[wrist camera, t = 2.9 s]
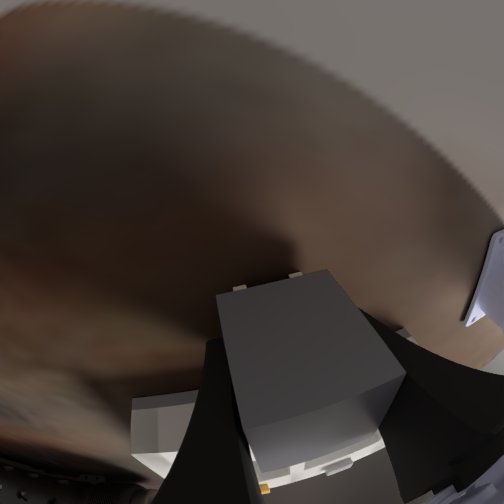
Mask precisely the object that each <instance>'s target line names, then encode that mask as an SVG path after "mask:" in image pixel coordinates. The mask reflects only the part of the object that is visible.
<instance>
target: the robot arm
mask: <svg viewBox="0 0 504 504" xmlns="http://www.w3.org/2000/svg"><path fill="white" fill-rule="evenodd" d="M358 309H359V310H360V311H361V313H362V314H363V315H364V316H365V318H366V319H367V320H368V322H369V323H370V324H371V325H372V327H373V328H374V329H375V331H376V332H377V333H378V335H379V336H380V337H381V339H382V340H383V341H384V343H385V344H386V345H387V347H388V348H389V349H390V351H391V352H392V353H393V355H394V356H395V357H396V359H397V360H398V362H399V363H400V364H401V366H402V367H403V368H404V370H405V371H406V375H405V377H404V379H403V381H402V383H401V385H400V388H399V390H398V392H397V394H396V396H395V398H394V400H393V402H392V404H391V405H390V407H389V409H388V411H387V413H386V415H385V417H384V418H383V420H382V422H381V424H380V425H379V427H378V430H379V432H380V434H381V437H382V439H383V442H384V444H385V447H386V449H387V452H388V455H389V457H390V461H391V463H392V466H393V469H394V473H395V476H396V479H397V483H398V487H399V491H400V495H401V498H402V499H403V502H404V503H407V502H410V501H412V500H414V499H416V498H418V497H420V496H422V495H424V494H426V493H427V492H429V491H430V490H432V491H433V494H434V496H433V497H431V498H430V499H428V500H427V501H425V502H423V503H422V504H504V375H497V374H493V373H489V372H484V371H480V370H477V369H473V368H470V367H467V366H464V365H461V364H458V363H455V362H453V361H450V360H448V359H445V358H443V357H441V356H439V355H437V354H434V353H432V352H430V351H428V350H426V349H424V348H422V347H420V346H419V345H417V344H415V343H413V342H411V341H409V340H408V339H406V338H404V337H403V336H401V335H399V334H398V333H396V332H395V331H393V330H391V329H390V328H388V327H387V326H385V325H384V324H382V323H381V322H379V321H378V320H376V319H375V318H373V317H372V316H370V315H369V314H367V313H366V312H364V311H363V310H361V309H360V308H358ZM484 315H487V316H488V317H489V318H490V319H491V320H492V321H494V322H495V323H496V324H497V325H498V326H499V327H500V328H501V329H502V330H503V331H504V229H503V230H501V231H498V232H496V233H494V234H493V236H492V238H491V241H490V245H489V249H488V253H487V256H486V260H485V263H484V267H483V270H482V273H481V276H480V279H479V282H478V285H477V288H476V291H475V294H474V296H473V299H472V302H471V304H470V307H469V310H468V312H467V314H466V317H465V319H464V322H463V324H464V325H465V326H466V327H467V326H469V325H471V324H472V323H474V322H475V321H477V320H478V319H480V318H481V317H483V316H484ZM465 491H466V494H465V495H463V496H461V497H459V496H460V495H461V494H463V493H464V492H465ZM457 497H459V498H457ZM456 498H457V499H456ZM455 499H456V500H455ZM150 504H265V502H264V499H263V496H262V493H261V489H260V486H259V482H258V479H257V476H256V472H255V468H254V465H253V461H252V457H251V452H250V447H249V443H248V440H247V438H246V436H245V433H244V431H243V427H242V423H241V418H240V414H239V410H238V405H237V401H236V396H235V392H234V387H233V383H232V378H231V373H230V368H229V364H228V359H227V354H226V349H225V344H224V338H223V337H222V338H217V339H212V340H208V341H207V343H206V352H205V360H204V366H203V372H202V377H201V381H200V386H199V390H198V395H197V398H196V402H195V405H194V409H193V412H192V416H191V419H190V422H189V425H188V428H187V430H186V433H185V436H184V438H183V441H182V444H181V446H180V448H179V451H178V453H177V455H176V457H175V460H174V462H173V464H172V466H171V468H170V470H169V472H168V474H167V476H166V478H165V480H164V481H163V483H162V485H161V487H160V488H159V490H158V492H157V494H156V495H155V497H154V499H153V500H152V502H151V503H150Z"/></svg>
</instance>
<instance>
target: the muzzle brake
mask: <svg viewBox="0 0 504 504" xmlns="http://www.w3.org/2000/svg"><path fill="white" fill-rule="evenodd" d="M1 484H2V489H0V504H150V503H151V502H152V500H153V499H154V497H155V495H156V494H157V492H158V490H156V489H146V488H144V487H142V486H140V485H138V484H135V483H113V482H111V481H110V479H108V478H106V477H105V476H95V475H85V474H81V475H80V477H79V479H75V478H68V477H63V476H57V475H52V474H50V472H48V471H47V470H45V469H41V470H39V469H35V468H33V467H31V466H29V465H25V464H21V463H18V462H14V461H11V460H8V459H5V458H1V457H0V485H1Z"/></svg>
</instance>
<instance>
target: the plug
mask: <svg viewBox="0 0 504 504" xmlns="http://www.w3.org/2000/svg"><path fill="white" fill-rule="evenodd" d="M216 301H217V306H218V312H219V317H220V323H221V328H222V333H223V338H224V344H225V349H226V354H227V359H228V364H229V368H230V373H231V378H232V383H233V387H234V392H235V396H236V401H237V405H238V410H239V414H240V418H241V423H242V427H243V431H244V433H245V436H246V438H247V440H248V443H249V445H250V448H251V450H252V452H253V455H254V457H255V459H256V461H257V464H258V466H259V468H260V471H261V473H266V472H270V471H274V470H278V469H282V468H286V467H289V466H293V465H296V464H300V463H303V462H306V461H310V460H313V459H316V458H319V457H322V456H325V455H327V454H330V453H333V452H336V451H338V450H341V449H343V448H346V447H348V446H351V445H353V444H356V443H358V442H360V441H363V440H365V439H367V438H369V437H372V436H374V434H375V432H376V431H377V429H378V427H379V425H380V424H381V422H382V420H383V418H384V417H385V415H386V413H387V411H388V409H389V407H390V405H391V404H392V402H393V400H394V398H395V396H396V394H397V392H398V390H399V388H400V385H401V383H402V381H403V379H404V377H405V375H406V371H405V370H404V368H403V367H402V366H401V364H400V363H399V362H398V360H397V359H396V357H395V356H394V355H393V353H392V352H391V351H390V349H389V348H388V347H387V345H386V344H385V343H384V341H383V340H382V339H381V337H380V336H379V335H378V333H377V332H376V331H375V329H374V328H373V327H372V325H371V324H370V323H369V322H368V320H367V319H366V318H365V316H364V315H363V314H362V313H361V311H360V310H359V309H358V307H357V306H356V305H355V304H354V302H353V301H352V300H351V299H350V297H349V296H348V295H347V293H346V292H345V291H344V290H343V288H342V287H341V286H340V285H339V284H338V282H337V281H336V280H335V279H334V277H333V276H332V275H331V274H330V272H329V271H328V270H327V269H325V270H321V271H317V272H313V273H309V274H305V275H303V274H302V273H301V272H297V273H293V274H289V278H288V279H284V280H280V281H276V282H272V283H267V284H263V285H259V286H254V287H250V288H247V287H246V285H241V286H237V287H233V291H232V292H228V293H223V294H219V295H216Z"/></svg>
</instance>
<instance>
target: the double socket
mask: <svg viewBox="0 0 504 504" xmlns="http://www.w3.org/2000/svg"><path fill="white" fill-rule="evenodd" d="M396 333H398V334H399V335H401V336H403V337H404V338H406V339H408V340H409V341H411V342H413V343H415V344H417V345H418V343H417V342H416V341H415V340H414V339H413V337H412V336H411V335H410V334H409V333H408V331H407V330H406V329H405V328H403V329H401V330H398V331H396ZM197 395H198V390H193V391H187V392H180V393H174V394H166V395H158V396H150V397H141V398H132V412H131V436H130V454H131V455H132V456H133V457H135V458H136V459H137V460H139V461H140V462H142V463H143V464H144V465H146V466H147V467H148V468H150V469H151V470H153V471H154V472H156V473H157V474H159V475H160V476H162V477H163V478H166V476H167V474H168V472H169V470H170V468H171V466H172V464H173V462H174V460H175V457H176V455H177V453H178V451H179V448H180V446H181V444H182V441H183V438H184V436H185V433H186V430H187V428H188V425H189V422H190V419H191V416H192V412H193V409H194V405H195V402H196V398H197ZM249 447H250V445H249ZM384 447H385V444H384V442H383V439H382V437H381V434H380V432H379V430H378V429H377V431H376V432H375V434H374V436H372V437H369V438H367V439H365V440H363V441H360V442H358V443H356V444H353V445H351V446H348V447H346V448H343V449H341V450H338V451H336V452H333V453H330V454H327V455H325V456H322V457H319V458H316V459H313V460H310V461H306V462H303V463H300V464H296V465H293V466H289V467H286V468H282V469H278V470H274V471H270V472H266V473H261V471H260V468H259V466H258V464H257V461H256V459H255V457H254V455H253V452H252V450H251V448H250V452H251V457H252V461H253V465H254V468H255V472H256V476H257V479H258V482H259V486H260V489H261V493H262V494H266V493H270V489H269V488H272V487H277V486H281V485H285V484H288V483H292V482H296V481H299V480H302V479H306V478H309V477H312V476H315V475H318V474H321V473H324V472H326V475H327V476H328V475H331V474H334V473H337V472H339V471H342V470H344V469H347V468H349V467H351V466H352V464H353V461H355V460H358V459H360V458H362V457H364V456H367V455H369V454H371V453H373V452H376V451H378V450H380V449H382V448H384Z"/></svg>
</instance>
